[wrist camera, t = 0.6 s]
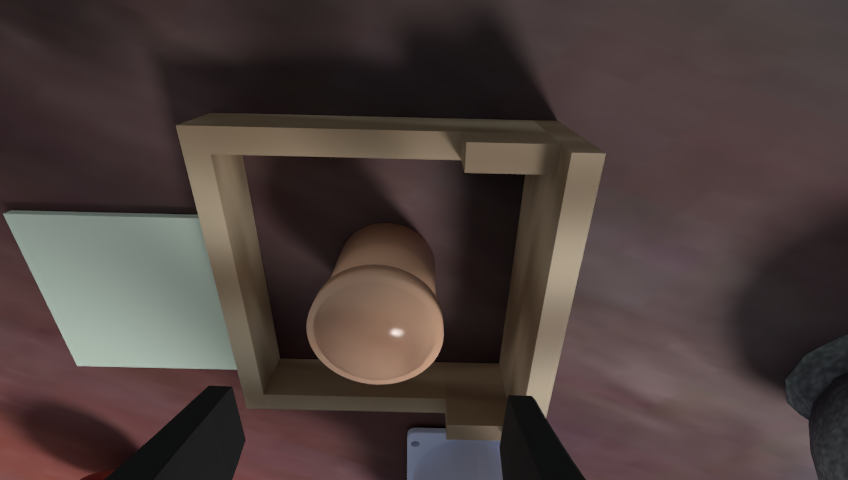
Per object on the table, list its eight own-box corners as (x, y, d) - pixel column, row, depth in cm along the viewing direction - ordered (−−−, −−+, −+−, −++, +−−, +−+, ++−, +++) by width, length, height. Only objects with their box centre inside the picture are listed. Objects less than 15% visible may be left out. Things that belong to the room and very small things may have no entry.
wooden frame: (515, 377, 23) (536, 461, 18) (264, 371, 23) (224, 454, 18) (557, 120, 16) (605, 153, 12) (210, 112, 16) (128, 142, 12)
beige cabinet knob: (438, 310, 21) (440, 386, 16) (338, 307, 21) (313, 383, 16) (442, 218, 18) (446, 278, 14) (330, 216, 18) (298, 274, 14)
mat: (245, 364, 22) (242, 369, 22) (82, 360, 22) (77, 365, 22) (209, 214, 18) (205, 218, 18) (11, 210, 18) (2, 213, 18)
